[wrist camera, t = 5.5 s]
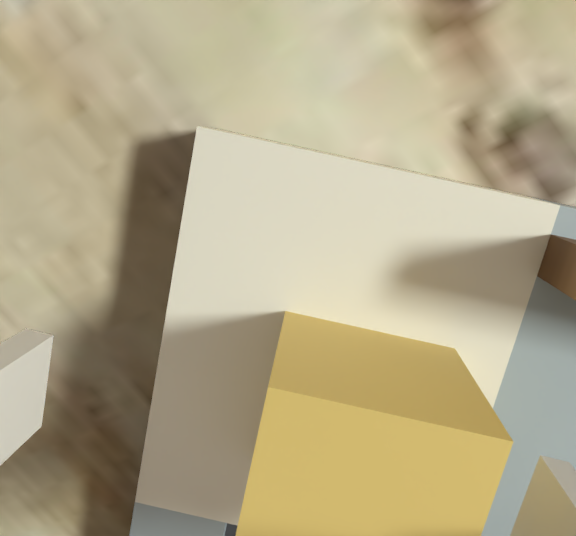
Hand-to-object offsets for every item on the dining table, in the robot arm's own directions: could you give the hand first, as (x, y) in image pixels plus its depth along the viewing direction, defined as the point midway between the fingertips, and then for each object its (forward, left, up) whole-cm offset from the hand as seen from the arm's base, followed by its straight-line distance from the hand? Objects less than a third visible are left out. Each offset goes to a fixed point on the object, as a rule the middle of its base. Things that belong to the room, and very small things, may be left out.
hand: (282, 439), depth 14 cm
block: (+2, 0, -2) cm, 3 cm away
